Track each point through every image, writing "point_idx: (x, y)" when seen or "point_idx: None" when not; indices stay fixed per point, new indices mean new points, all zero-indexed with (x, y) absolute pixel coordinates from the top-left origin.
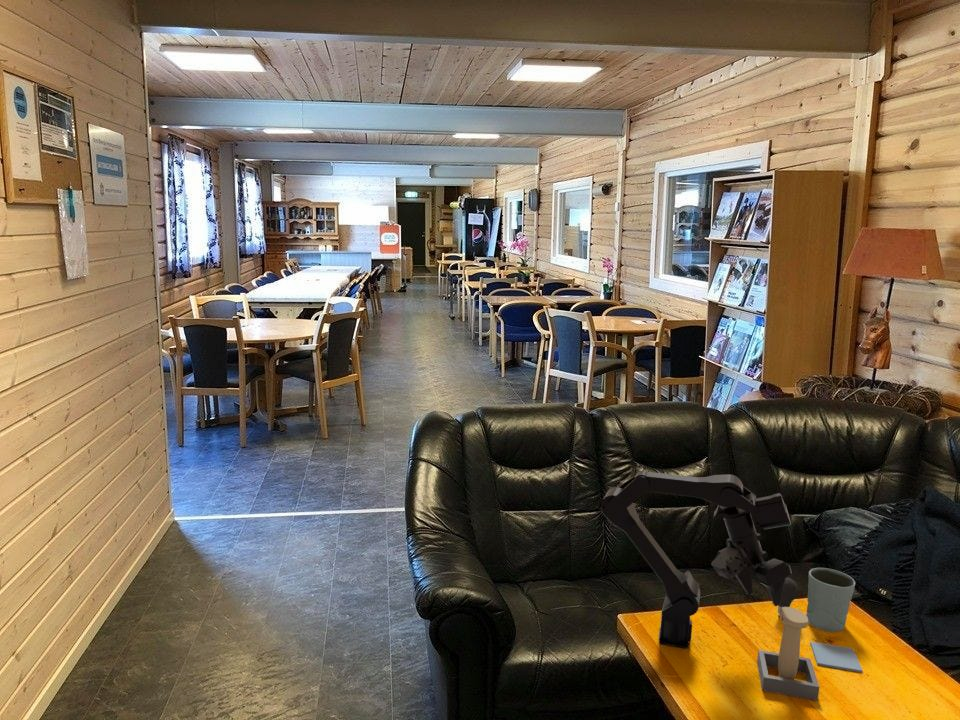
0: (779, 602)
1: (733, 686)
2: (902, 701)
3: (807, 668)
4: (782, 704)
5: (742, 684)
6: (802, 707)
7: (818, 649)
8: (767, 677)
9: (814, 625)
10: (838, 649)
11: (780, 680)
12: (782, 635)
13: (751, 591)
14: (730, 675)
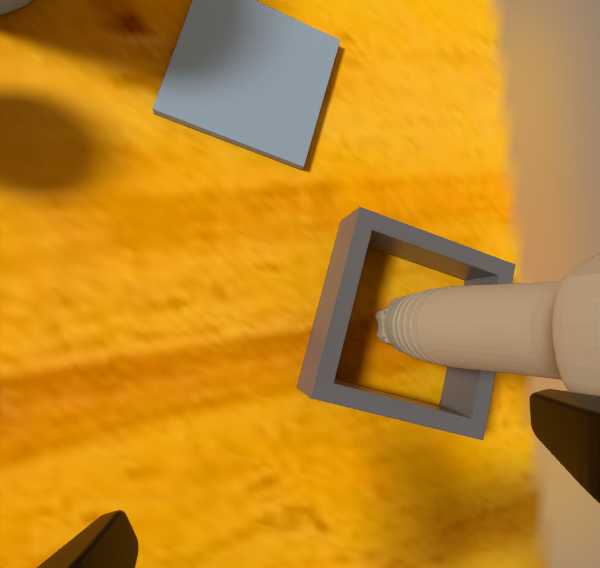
0: (569, 395)
1: (435, 518)
2: (462, 30)
3: (400, 244)
4: (503, 385)
5: (423, 483)
6: None
7: (214, 111)
8: (484, 427)
9: (3, 9)
10: (210, 34)
11: (492, 383)
12: (517, 373)
13: (120, 526)
14: (378, 513)
